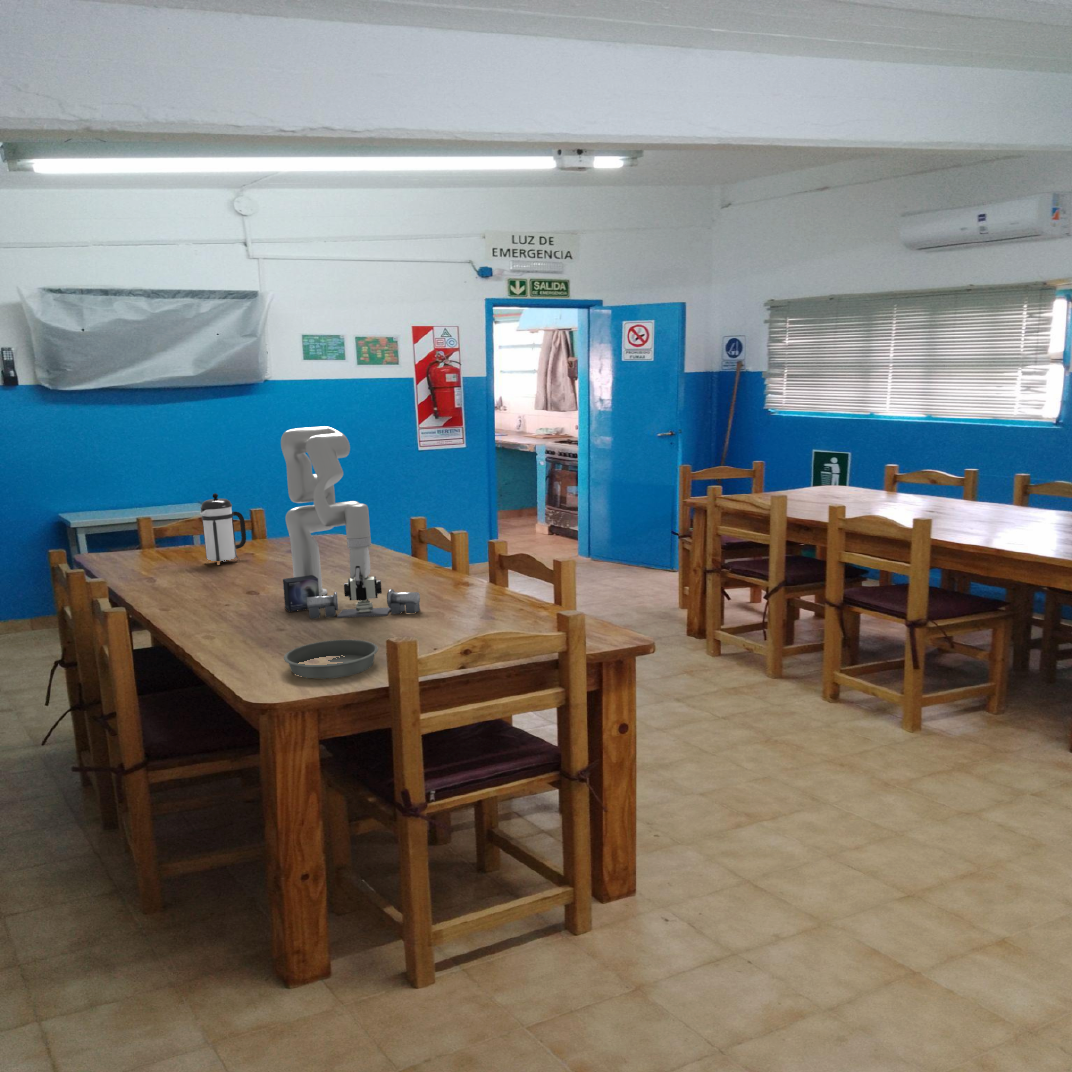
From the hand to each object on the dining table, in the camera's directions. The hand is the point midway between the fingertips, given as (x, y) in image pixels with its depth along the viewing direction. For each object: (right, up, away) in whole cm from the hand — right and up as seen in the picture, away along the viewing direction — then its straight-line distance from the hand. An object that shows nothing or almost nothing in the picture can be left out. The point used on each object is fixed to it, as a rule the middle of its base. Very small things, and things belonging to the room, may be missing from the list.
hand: (363, 597), depth 332 cm
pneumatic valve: (0, -5, +1) cm, 5 cm away
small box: (-22, -5, +13) cm, 26 cm away
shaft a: (-13, -6, +1) cm, 14 cm away
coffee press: (-78, +8, +109) cm, 134 cm away
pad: (0, -5, +1) cm, 5 cm away
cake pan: (+2, -15, -58) cm, 60 cm away
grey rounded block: (+14, -5, 0) cm, 14 cm away
